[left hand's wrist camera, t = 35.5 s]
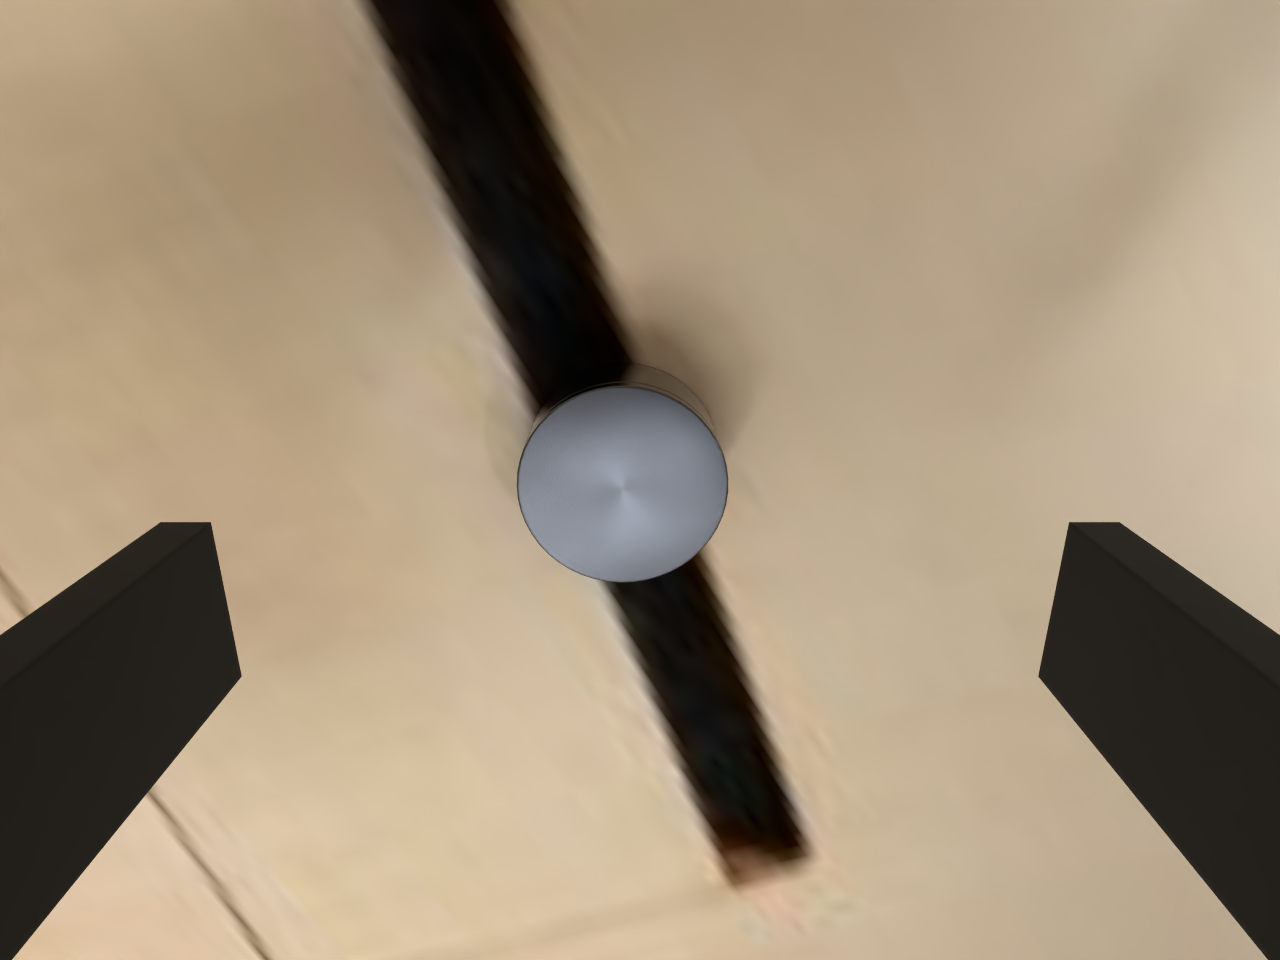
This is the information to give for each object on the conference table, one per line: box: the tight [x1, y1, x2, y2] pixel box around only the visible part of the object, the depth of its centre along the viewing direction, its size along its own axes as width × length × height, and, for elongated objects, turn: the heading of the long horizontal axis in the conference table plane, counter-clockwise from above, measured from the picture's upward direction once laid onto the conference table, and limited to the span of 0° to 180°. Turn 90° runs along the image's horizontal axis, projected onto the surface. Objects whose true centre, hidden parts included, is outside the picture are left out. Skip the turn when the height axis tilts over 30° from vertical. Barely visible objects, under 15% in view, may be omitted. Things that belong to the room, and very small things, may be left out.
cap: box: [517, 363, 728, 582], centre depth 17 cm, size 4×4×2 cm
